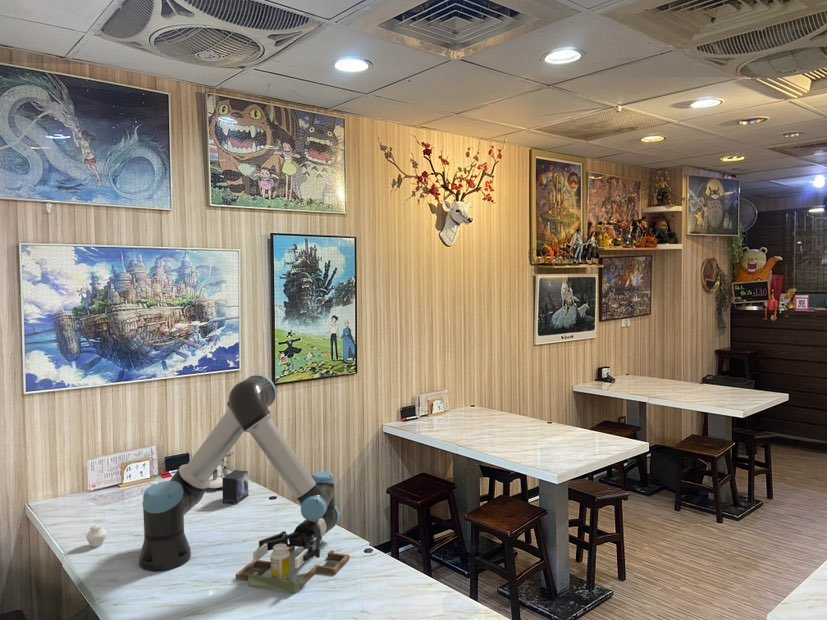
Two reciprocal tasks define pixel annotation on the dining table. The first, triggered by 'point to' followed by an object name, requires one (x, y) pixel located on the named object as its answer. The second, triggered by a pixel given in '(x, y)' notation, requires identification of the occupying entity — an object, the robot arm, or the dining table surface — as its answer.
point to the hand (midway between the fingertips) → (274, 560)
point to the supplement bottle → (280, 562)
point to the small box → (235, 487)
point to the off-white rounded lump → (96, 536)
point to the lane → (260, 567)
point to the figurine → (217, 480)
